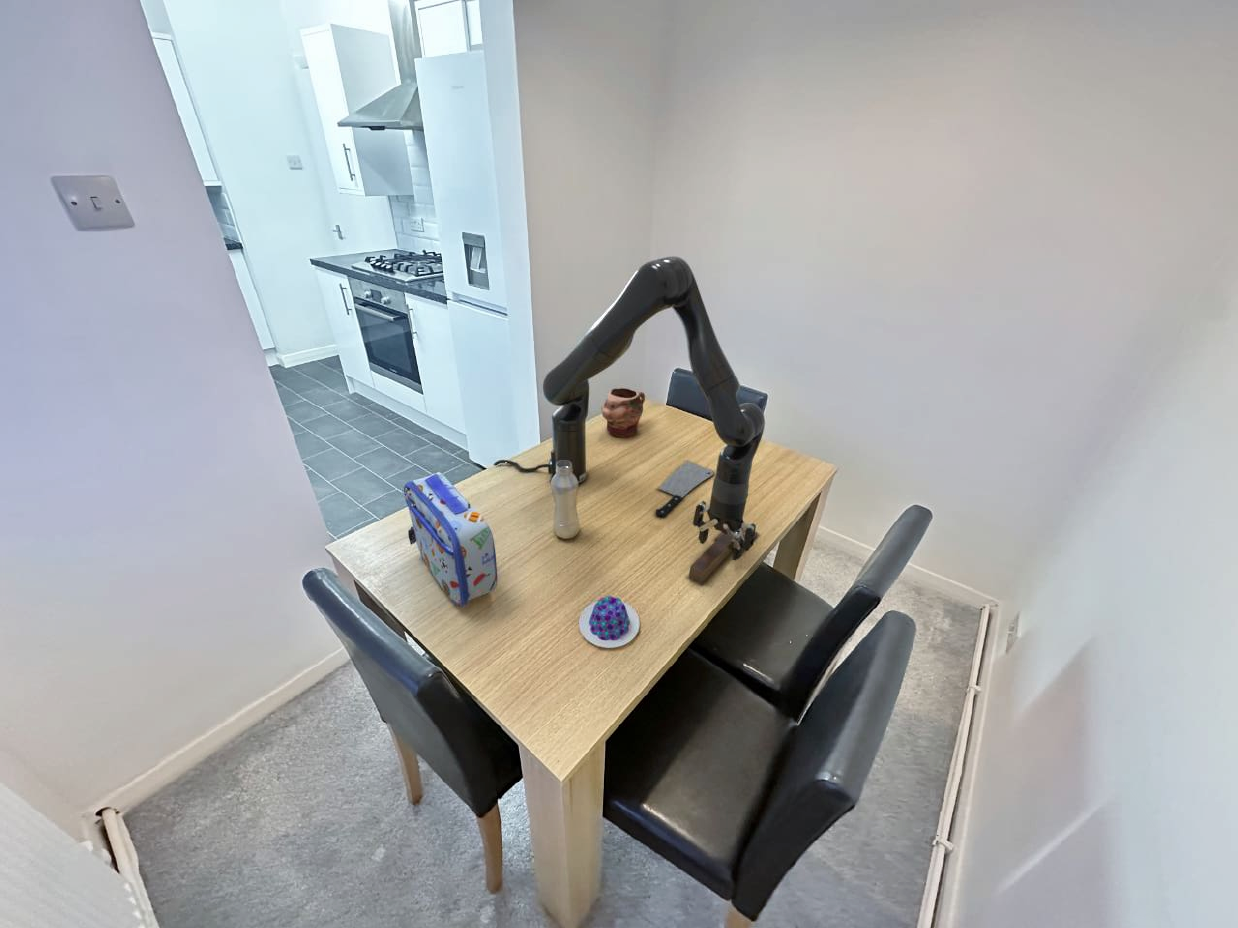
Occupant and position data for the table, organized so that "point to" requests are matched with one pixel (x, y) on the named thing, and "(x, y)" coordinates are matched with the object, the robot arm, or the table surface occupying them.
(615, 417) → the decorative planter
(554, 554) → the table surface
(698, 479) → the cleaver
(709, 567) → the spatula
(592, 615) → the pudding
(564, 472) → the plastic bottle
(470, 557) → the lunch box
